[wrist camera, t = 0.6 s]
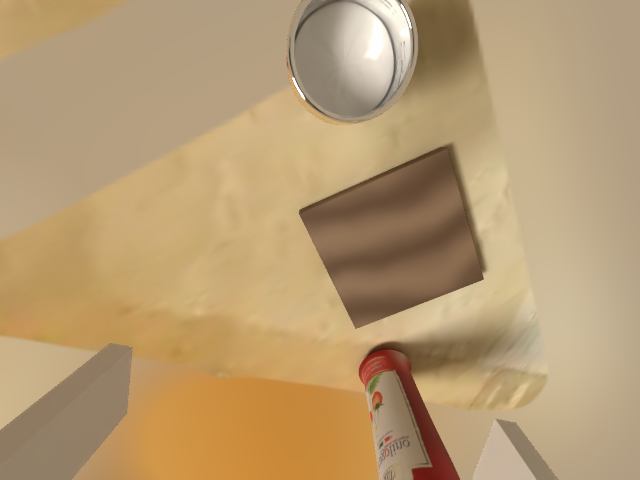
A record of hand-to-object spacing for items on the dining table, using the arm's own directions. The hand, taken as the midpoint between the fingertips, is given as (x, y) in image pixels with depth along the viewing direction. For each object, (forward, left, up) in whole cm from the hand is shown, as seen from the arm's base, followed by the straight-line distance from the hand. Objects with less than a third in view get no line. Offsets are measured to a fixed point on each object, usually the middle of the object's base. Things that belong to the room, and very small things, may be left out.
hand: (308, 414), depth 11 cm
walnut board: (+7, +7, -25) cm, 27 cm away
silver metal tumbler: (-11, +7, -25) cm, 28 cm away
